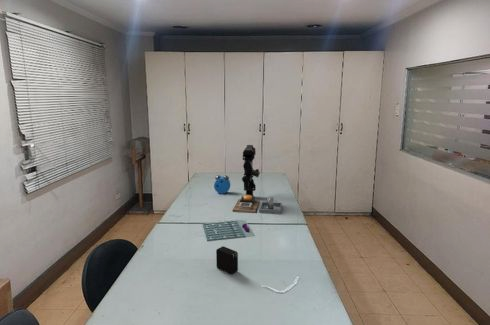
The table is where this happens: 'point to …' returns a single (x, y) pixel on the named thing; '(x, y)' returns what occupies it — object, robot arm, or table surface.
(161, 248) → the table surface
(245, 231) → the calendar
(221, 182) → the alarm clock
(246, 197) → the button
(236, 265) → the electronic device
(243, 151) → the robot arm
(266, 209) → the gray square frame
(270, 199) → the cylinder
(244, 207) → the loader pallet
